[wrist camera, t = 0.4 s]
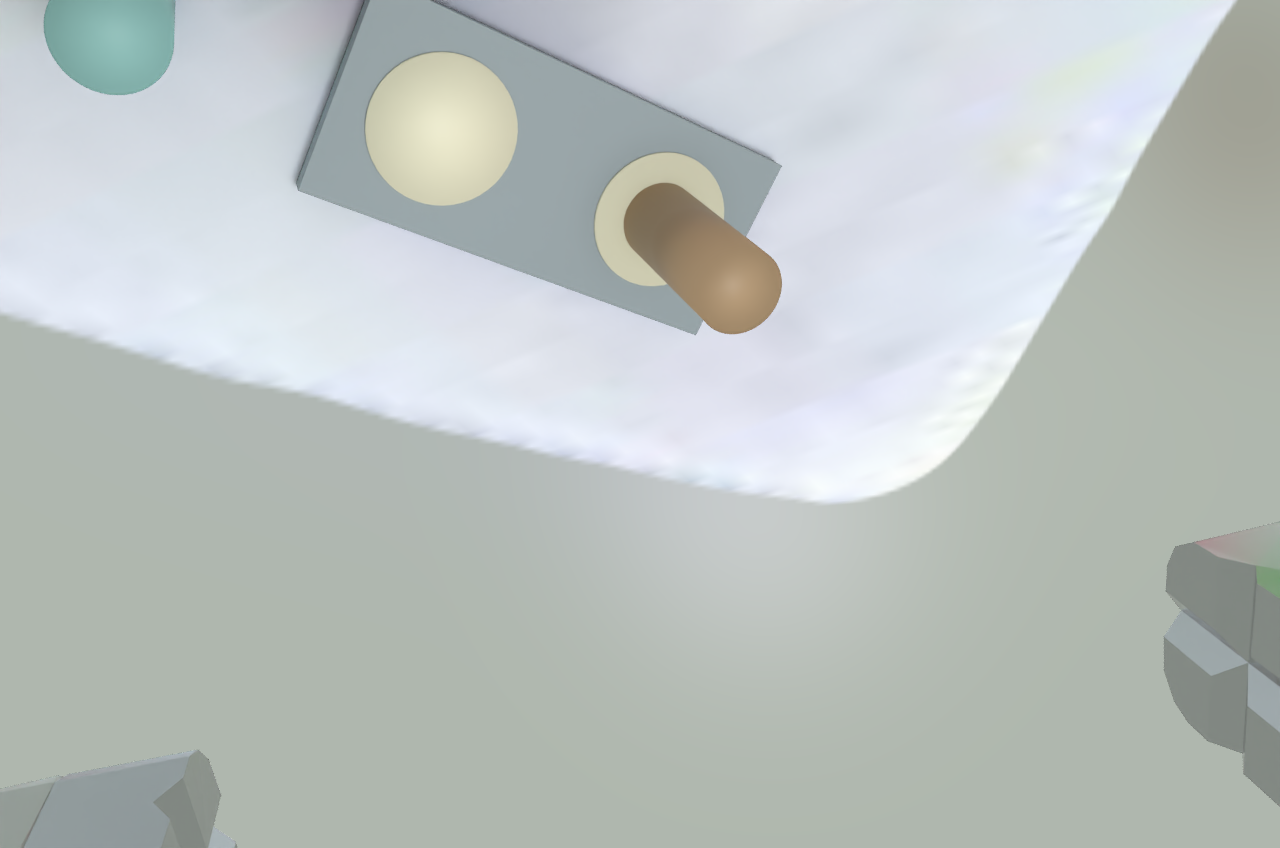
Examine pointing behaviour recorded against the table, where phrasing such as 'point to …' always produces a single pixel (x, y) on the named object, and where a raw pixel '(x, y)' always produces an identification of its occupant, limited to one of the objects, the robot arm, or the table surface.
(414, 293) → the table surface
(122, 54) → the pin
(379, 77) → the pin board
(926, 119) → the table surface
